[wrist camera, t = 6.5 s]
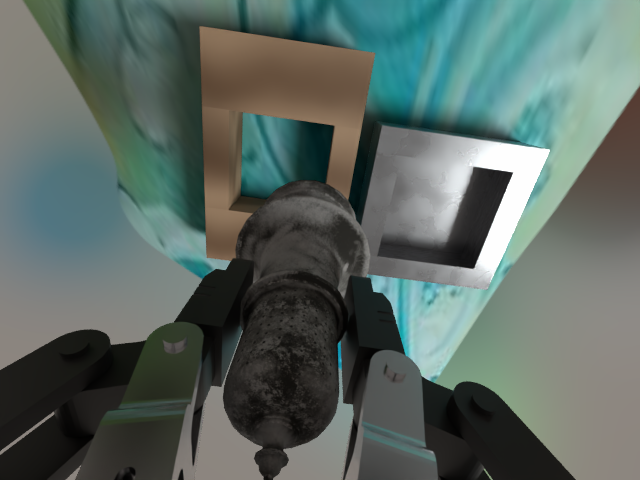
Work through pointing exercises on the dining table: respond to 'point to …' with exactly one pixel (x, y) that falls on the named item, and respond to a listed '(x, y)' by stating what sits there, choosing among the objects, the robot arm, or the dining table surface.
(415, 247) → the seat block
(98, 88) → the dining table surface
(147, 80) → the dining table surface
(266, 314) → the chess piece
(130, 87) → the dining table surface
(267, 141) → the dining table surface
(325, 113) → the wooden rectangular frame
